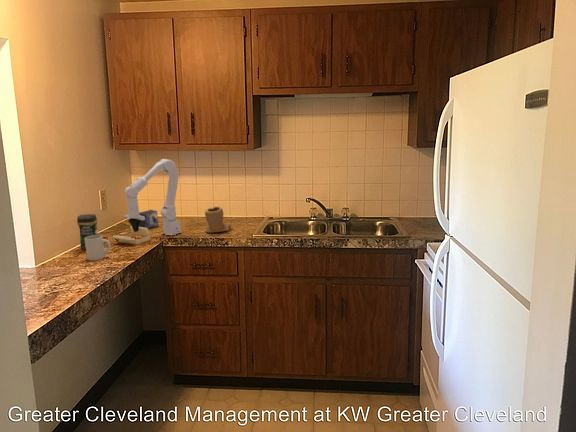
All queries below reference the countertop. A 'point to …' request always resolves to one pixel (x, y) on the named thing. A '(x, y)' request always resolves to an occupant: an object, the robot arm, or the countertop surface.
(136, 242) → the cream shallow tray
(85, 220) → the coffee jar
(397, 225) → the countertop surface
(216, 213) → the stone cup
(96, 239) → the mug
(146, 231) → the right flap
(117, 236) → the left flap
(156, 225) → the small box
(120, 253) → the countertop surface
